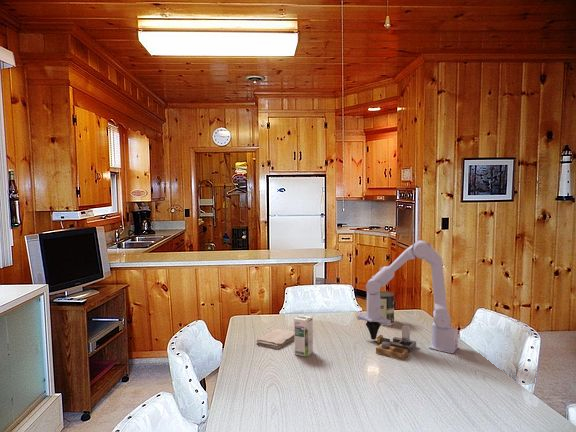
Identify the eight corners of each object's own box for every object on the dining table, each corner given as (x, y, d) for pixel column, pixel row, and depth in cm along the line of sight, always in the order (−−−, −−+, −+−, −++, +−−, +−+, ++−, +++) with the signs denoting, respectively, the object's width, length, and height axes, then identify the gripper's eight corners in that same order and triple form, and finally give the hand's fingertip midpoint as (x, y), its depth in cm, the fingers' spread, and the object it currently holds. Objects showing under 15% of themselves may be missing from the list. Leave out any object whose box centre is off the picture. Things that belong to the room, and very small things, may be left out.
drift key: (390, 343, 161) (390, 337, 160) (387, 345, 158) (387, 339, 158) (380, 340, 163) (380, 334, 163) (377, 343, 161) (377, 337, 161)
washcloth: (255, 345, 161) (254, 338, 161) (277, 332, 177) (277, 325, 177) (279, 351, 155) (279, 343, 155) (300, 336, 171) (299, 330, 171)
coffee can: (391, 318, 192) (391, 291, 192) (396, 325, 182) (396, 296, 181) (370, 319, 193) (370, 291, 192) (375, 325, 182) (374, 296, 182)
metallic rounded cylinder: (410, 348, 155) (410, 326, 155) (408, 350, 153) (408, 328, 152) (403, 346, 157) (403, 324, 157) (400, 348, 155) (400, 326, 154)
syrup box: (294, 354, 150) (293, 318, 150) (300, 349, 156) (300, 314, 155) (307, 357, 148) (306, 320, 147) (313, 351, 153) (313, 316, 152)
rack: (408, 355, 148) (408, 345, 148) (403, 360, 144) (403, 349, 144) (381, 349, 154) (381, 339, 154) (375, 353, 151) (375, 343, 150)
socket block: (416, 346, 156) (416, 341, 156) (409, 353, 150) (409, 347, 150) (395, 341, 162) (395, 336, 162) (387, 348, 156) (387, 342, 155)
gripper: (353, 306, 164) (354, 337, 165) (385, 312, 155) (385, 345, 156) (361, 303, 170) (361, 333, 170) (392, 308, 161) (392, 340, 161)
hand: (373, 338), depth 163 cm, fingers closed
